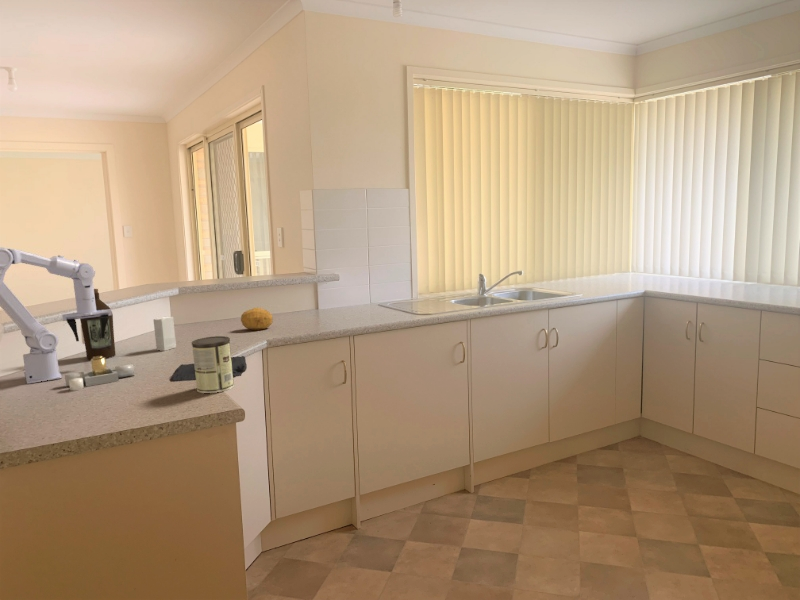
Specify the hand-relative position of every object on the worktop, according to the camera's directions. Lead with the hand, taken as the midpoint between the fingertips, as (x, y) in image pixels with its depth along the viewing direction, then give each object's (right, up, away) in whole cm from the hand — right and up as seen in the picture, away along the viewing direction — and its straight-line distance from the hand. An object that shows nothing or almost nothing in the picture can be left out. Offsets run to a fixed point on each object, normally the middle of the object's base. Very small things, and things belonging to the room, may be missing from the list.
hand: (90, 339), depth 203 cm
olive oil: (-5, -8, +18) cm, 20 cm away
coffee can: (+52, -12, -31) cm, 62 cm away
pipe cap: (+9, -13, -25) cm, 29 cm away
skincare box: (+16, -6, +26) cm, 31 cm away
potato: (+43, 0, +58) cm, 72 cm away
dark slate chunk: (+45, -10, -14) cm, 48 cm away
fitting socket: (+12, -12, -16) cm, 23 cm away
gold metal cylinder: (+12, -12, -16) cm, 23 cm away
